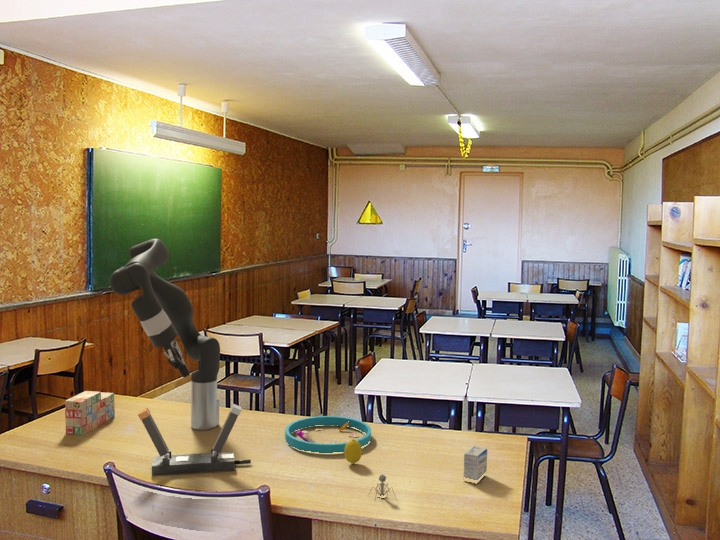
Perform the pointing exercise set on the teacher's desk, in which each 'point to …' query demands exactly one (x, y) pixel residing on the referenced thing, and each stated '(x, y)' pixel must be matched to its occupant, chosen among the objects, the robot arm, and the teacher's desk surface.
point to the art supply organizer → (324, 420)
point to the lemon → (353, 451)
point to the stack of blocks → (88, 411)
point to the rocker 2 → (226, 429)
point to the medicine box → (475, 463)
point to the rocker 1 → (154, 432)
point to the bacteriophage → (382, 486)
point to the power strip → (195, 463)
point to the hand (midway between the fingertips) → (186, 375)
